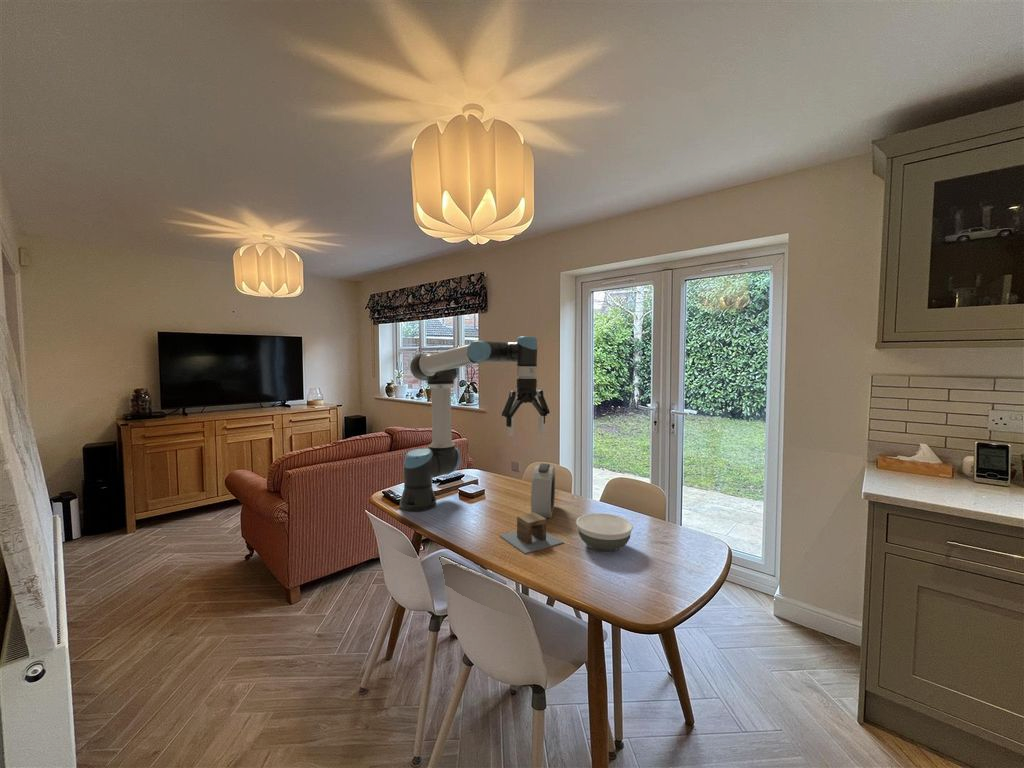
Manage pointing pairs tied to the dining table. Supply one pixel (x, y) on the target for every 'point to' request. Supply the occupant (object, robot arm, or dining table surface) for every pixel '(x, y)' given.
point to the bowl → (604, 531)
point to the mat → (536, 542)
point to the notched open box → (531, 527)
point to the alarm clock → (543, 490)
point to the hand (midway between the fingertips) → (526, 434)
